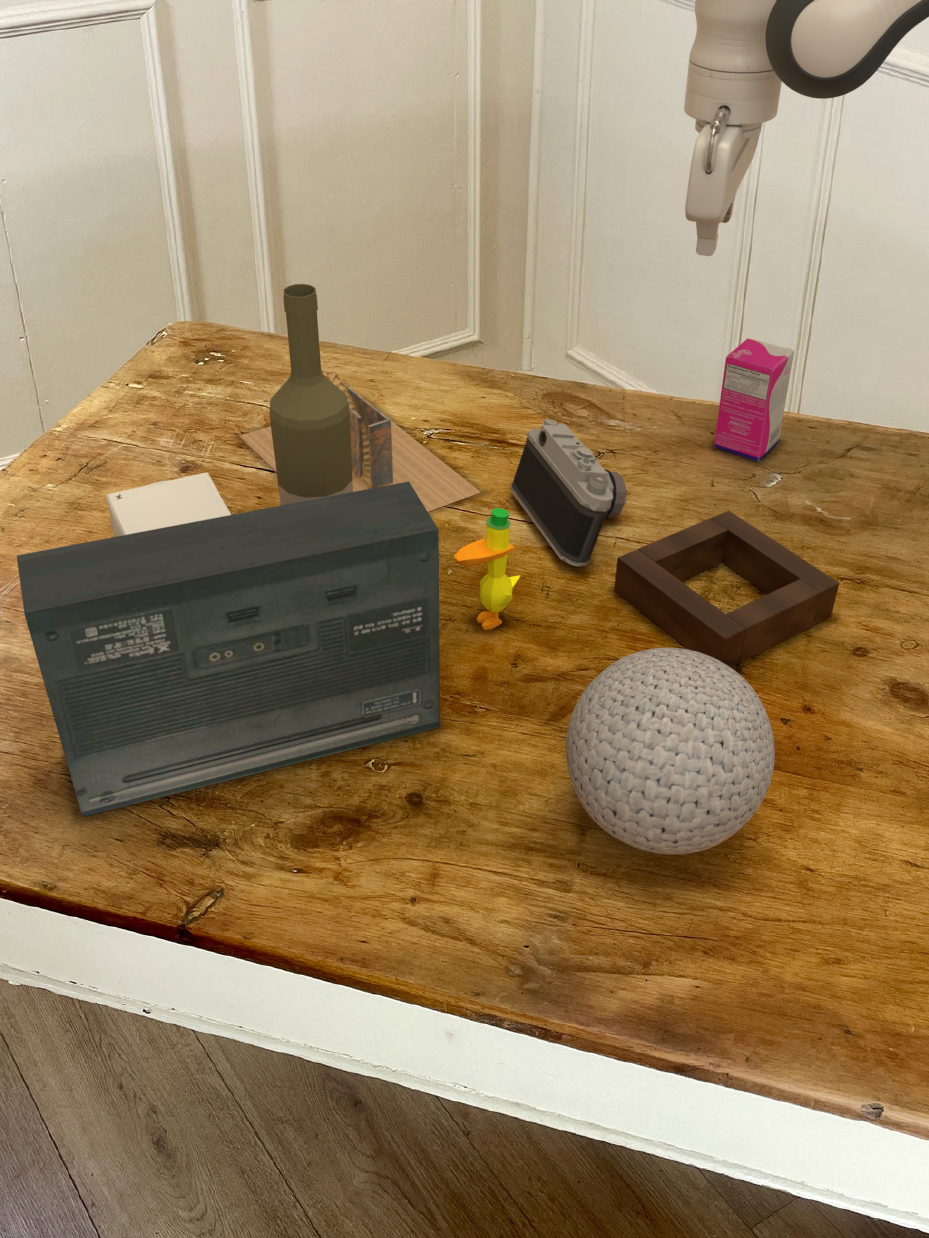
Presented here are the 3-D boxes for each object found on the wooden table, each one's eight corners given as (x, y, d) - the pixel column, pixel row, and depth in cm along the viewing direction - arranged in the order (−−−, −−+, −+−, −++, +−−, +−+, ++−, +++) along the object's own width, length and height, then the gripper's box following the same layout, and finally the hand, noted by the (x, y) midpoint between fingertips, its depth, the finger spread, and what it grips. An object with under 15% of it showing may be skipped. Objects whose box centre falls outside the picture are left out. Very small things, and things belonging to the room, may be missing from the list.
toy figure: (464, 644, 108) (466, 535, 101) (446, 622, 110) (446, 514, 103) (528, 622, 111) (534, 514, 103) (509, 601, 113) (513, 494, 106)
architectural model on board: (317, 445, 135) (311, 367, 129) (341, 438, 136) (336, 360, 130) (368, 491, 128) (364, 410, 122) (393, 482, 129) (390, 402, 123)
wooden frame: (723, 543, 121) (728, 510, 118) (831, 617, 112) (840, 582, 109) (613, 591, 114) (617, 557, 112) (718, 673, 105) (725, 638, 103)
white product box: (155, 690, 103) (126, 548, 94) (131, 630, 109) (101, 491, 100) (256, 661, 106) (238, 521, 97) (227, 604, 112) (207, 468, 103)
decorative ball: (535, 863, 88) (545, 716, 79) (589, 731, 99) (604, 588, 90) (737, 922, 84) (773, 774, 75) (770, 778, 95) (806, 633, 86)
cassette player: (413, 675, 105) (408, 481, 92) (439, 727, 100) (438, 529, 87) (72, 755, 97) (16, 555, 84) (82, 817, 92) (24, 613, 79)
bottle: (370, 600, 113) (355, 300, 94) (299, 617, 111) (268, 314, 92) (347, 559, 118) (328, 267, 99) (278, 575, 116) (245, 280, 97)
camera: (637, 573, 119) (673, 486, 114) (563, 570, 116) (596, 480, 110) (573, 492, 131) (603, 410, 125) (504, 487, 127) (531, 402, 122)
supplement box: (732, 426, 139) (748, 335, 132) (780, 442, 137) (798, 349, 129) (710, 447, 135) (725, 354, 128) (758, 463, 133) (776, 370, 126)
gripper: (748, 128, 105) (727, 279, 114) (780, 69, 120) (759, 206, 129) (677, 121, 107) (662, 270, 115) (717, 64, 122) (701, 200, 130)
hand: (714, 236), depth 122 cm, fingers open, 8 cm apart
